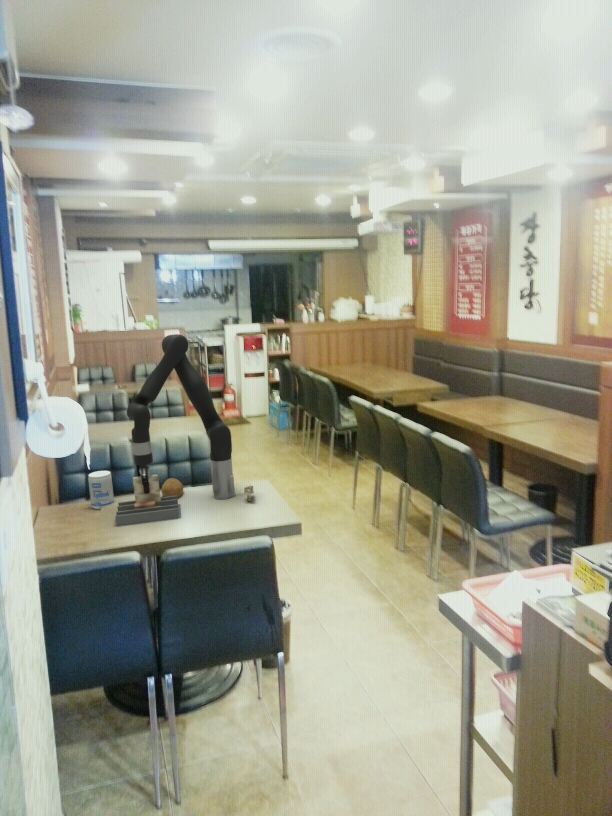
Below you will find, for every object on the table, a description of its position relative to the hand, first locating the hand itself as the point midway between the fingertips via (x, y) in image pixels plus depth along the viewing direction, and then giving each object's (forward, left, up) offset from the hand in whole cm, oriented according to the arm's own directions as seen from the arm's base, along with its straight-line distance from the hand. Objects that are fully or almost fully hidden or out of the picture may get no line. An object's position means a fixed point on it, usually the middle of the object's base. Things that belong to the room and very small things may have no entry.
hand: (147, 492), depth 258 cm
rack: (0, +5, -9) cm, 11 cm away
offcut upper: (+1, +6, -5) cm, 8 cm away
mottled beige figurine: (-42, -2, -10) cm, 43 cm away
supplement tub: (+20, -17, -10) cm, 28 cm away
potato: (-10, -16, -10) cm, 21 cm away
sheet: (0, 0, -7) cm, 7 cm away
